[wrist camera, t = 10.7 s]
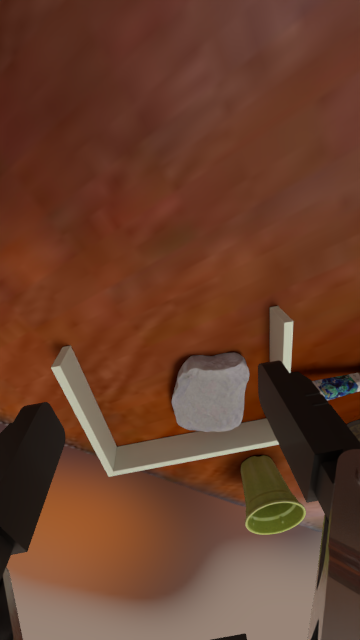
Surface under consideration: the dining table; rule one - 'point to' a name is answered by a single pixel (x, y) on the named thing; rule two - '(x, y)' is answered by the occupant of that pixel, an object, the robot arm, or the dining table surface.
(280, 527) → the plant pot
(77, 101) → the dining table surface
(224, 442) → the cream u-shaped barrier
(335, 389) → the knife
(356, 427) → the stone statue
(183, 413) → the stone block
